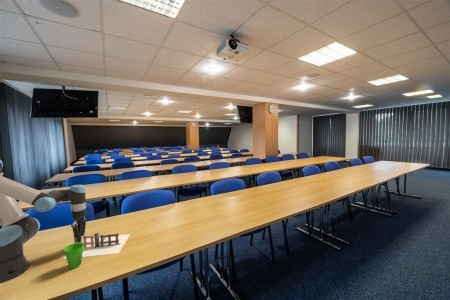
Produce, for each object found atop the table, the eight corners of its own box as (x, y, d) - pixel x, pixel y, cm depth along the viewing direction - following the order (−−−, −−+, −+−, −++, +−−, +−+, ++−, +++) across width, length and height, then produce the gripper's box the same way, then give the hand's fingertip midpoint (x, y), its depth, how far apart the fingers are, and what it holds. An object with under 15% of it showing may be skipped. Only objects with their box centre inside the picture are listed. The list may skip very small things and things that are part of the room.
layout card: (118, 253, 118) (118, 252, 118) (62, 259, 112) (62, 258, 112) (130, 233, 142) (130, 233, 142) (85, 238, 137) (85, 237, 137)
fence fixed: (118, 245, 127) (117, 232, 126) (94, 247, 124) (93, 234, 124) (119, 243, 129) (119, 230, 129) (96, 245, 127) (95, 232, 126)
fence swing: (93, 246, 125) (92, 235, 124) (73, 247, 124) (73, 235, 124) (94, 245, 127) (94, 233, 126) (75, 245, 126) (75, 234, 126)
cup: (89, 260, 111) (88, 242, 111) (77, 271, 102) (76, 251, 102) (73, 261, 111) (71, 242, 110) (60, 271, 102) (58, 251, 101)
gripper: (79, 212, 116) (81, 251, 117) (90, 206, 129) (92, 240, 129) (65, 213, 115) (67, 252, 116) (78, 206, 127) (79, 242, 128)
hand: (80, 246), depth 122 cm, fingers closed
